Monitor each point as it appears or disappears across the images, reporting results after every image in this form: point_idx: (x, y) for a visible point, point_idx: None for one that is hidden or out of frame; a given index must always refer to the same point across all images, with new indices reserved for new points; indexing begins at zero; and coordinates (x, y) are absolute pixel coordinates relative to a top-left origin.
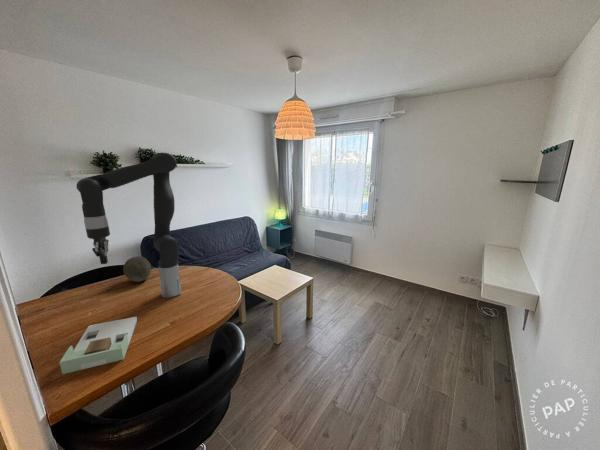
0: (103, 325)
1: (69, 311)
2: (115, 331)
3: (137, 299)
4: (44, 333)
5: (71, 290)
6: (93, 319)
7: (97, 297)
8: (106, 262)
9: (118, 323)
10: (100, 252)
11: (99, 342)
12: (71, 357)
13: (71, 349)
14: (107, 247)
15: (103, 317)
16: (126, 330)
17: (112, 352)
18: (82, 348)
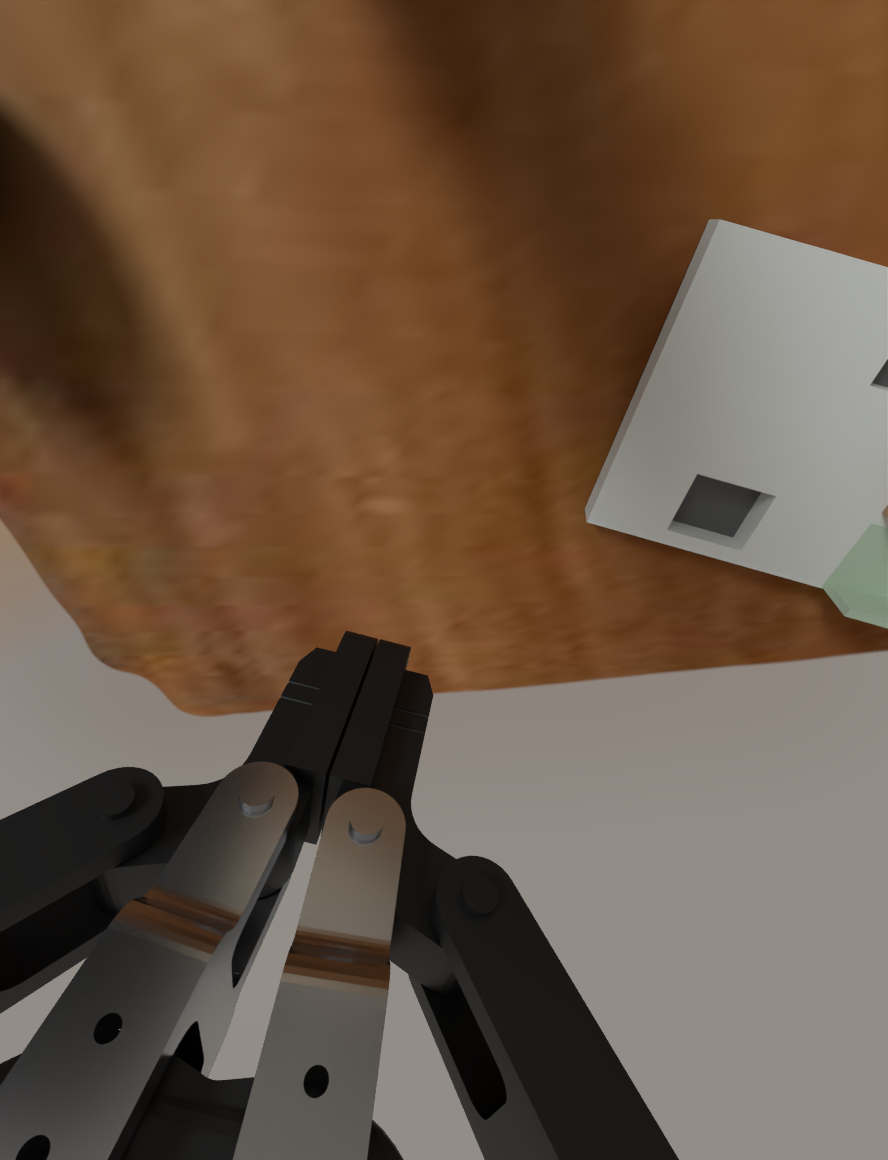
0: (655, 453)
1: (304, 587)
2: (811, 388)
3: (329, 190)
4: (473, 659)
5: (45, 582)
6: (473, 491)
7: (180, 468)
8: (404, 660)
9: (713, 365)
10: (640, 1125)
11: None
12: (869, 589)
13: (859, 604)
14: (105, 954)
15: (484, 442)
16: (877, 315)
17: None
18: (831, 550)
